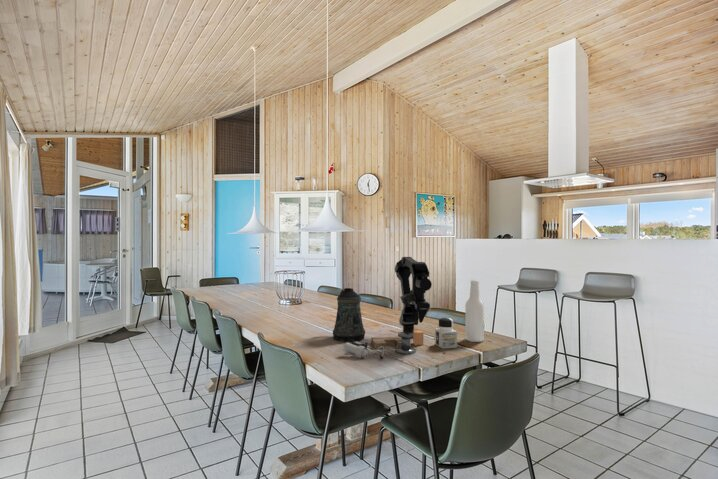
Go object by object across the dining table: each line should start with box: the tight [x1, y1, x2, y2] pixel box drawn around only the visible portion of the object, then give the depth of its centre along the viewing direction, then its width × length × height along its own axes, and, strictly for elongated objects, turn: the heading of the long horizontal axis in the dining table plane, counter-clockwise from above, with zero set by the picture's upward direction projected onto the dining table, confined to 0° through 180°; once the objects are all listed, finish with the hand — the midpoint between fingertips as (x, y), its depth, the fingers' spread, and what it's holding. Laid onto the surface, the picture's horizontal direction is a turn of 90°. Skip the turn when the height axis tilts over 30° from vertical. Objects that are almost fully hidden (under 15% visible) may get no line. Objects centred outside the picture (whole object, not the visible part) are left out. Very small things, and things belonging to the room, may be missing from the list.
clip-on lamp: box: [343, 340, 385, 359], centre depth 171 cm, size 12×6×18 cm
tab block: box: [412, 330, 424, 346], centre depth 191 cm, size 4×4×6 cm
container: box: [434, 317, 458, 349], centre depth 187 cm, size 8×8×13 cm
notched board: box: [370, 336, 401, 350], centre depth 189 cm, size 11×16×2 cm
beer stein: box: [332, 287, 366, 343], centre depth 203 cm, size 16×19×25 cm
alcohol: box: [464, 279, 485, 343], centre depth 199 cm, size 9×9×30 cm
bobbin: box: [395, 331, 417, 355], centre depth 178 cm, size 9×9×8 cm
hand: (418, 320), depth 191 cm, fingers open, 9 cm apart
